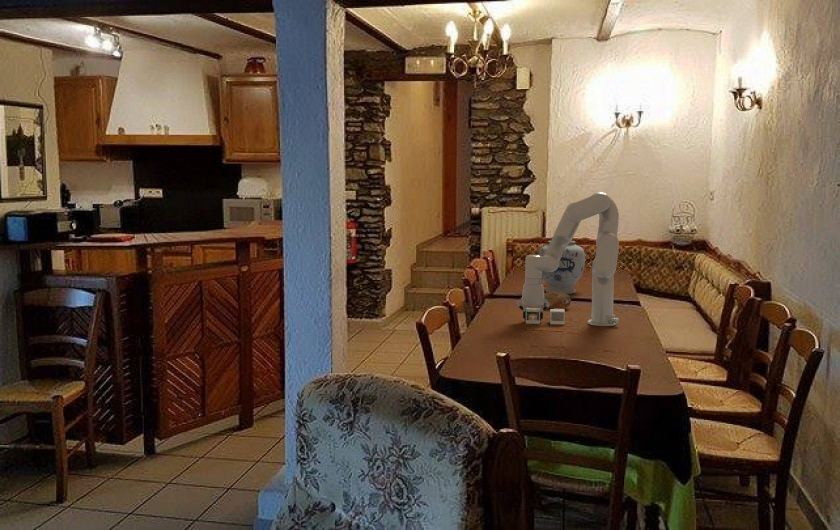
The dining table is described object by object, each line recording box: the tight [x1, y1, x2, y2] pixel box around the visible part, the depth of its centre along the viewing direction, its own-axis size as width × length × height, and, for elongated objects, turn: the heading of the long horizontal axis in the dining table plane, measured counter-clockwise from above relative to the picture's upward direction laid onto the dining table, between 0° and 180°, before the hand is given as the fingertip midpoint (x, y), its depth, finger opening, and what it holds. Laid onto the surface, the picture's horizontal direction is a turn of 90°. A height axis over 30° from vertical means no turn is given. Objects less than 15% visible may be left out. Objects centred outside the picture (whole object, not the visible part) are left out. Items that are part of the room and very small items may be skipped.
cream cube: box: [549, 309, 566, 325], centre depth 340 cm, size 6×6×6 cm
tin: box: [542, 292, 572, 310], centre depth 377 cm, size 15×3×8 cm, turn 62°
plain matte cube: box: [525, 307, 541, 325], centre depth 342 cm, size 6×6×6 cm
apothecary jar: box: [538, 240, 586, 295], centre depth 429 cm, size 27×27×30 cm
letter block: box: [529, 313, 537, 320], centre depth 342 cm, size 4×4×4 cm
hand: (532, 319), depth 342 cm, fingers closed on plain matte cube, 6 cm apart
